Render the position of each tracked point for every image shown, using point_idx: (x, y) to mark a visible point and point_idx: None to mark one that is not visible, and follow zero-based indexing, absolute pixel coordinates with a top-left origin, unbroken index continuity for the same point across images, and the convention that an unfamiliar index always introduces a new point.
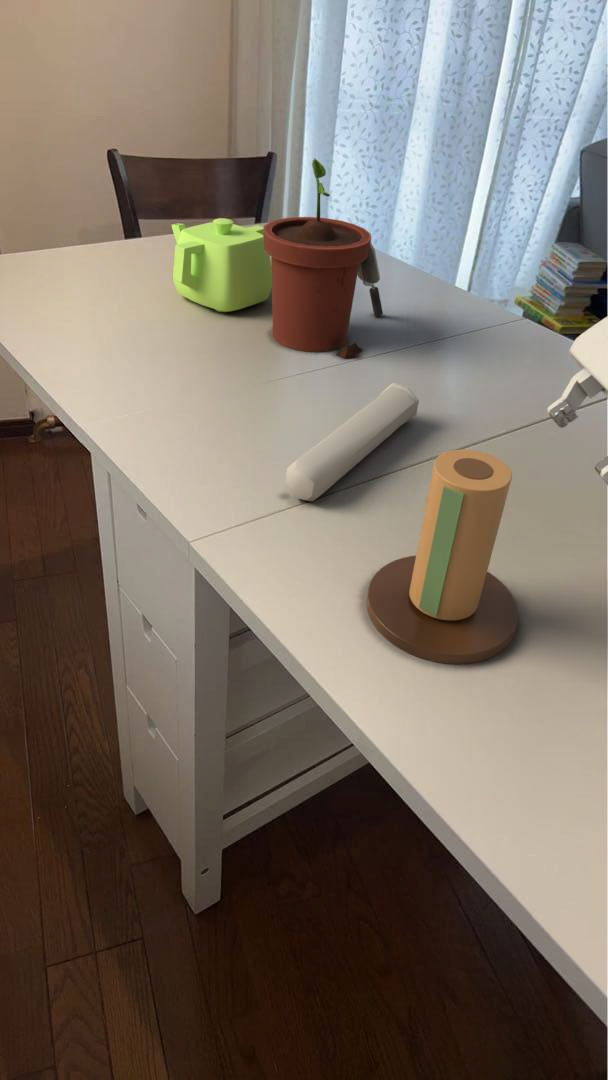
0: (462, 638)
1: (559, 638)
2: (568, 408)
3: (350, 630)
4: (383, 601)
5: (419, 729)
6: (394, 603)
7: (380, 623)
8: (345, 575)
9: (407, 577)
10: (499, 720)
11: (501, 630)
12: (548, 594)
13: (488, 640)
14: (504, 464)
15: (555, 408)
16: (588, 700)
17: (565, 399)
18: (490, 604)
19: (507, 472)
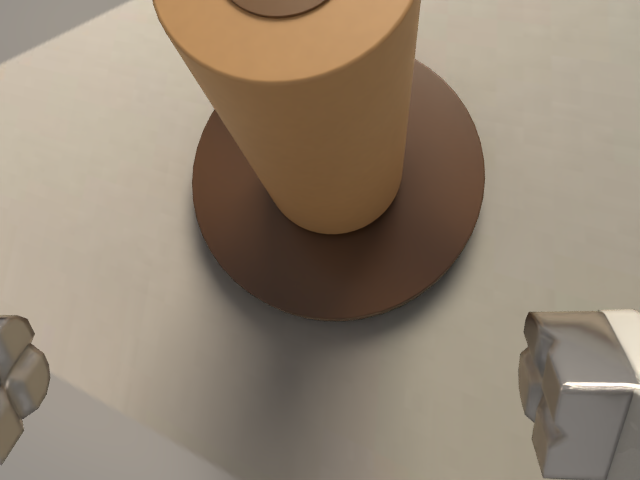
0: (229, 179)
1: (237, 385)
2: (555, 394)
3: None
4: None
5: (88, 84)
6: None
7: None
8: (448, 30)
9: (409, 121)
10: (79, 203)
11: (240, 257)
12: (367, 421)
13: (219, 225)
14: (306, 73)
15: (588, 328)
16: (87, 370)
17: (632, 390)
18: (315, 261)
19: (250, 67)
